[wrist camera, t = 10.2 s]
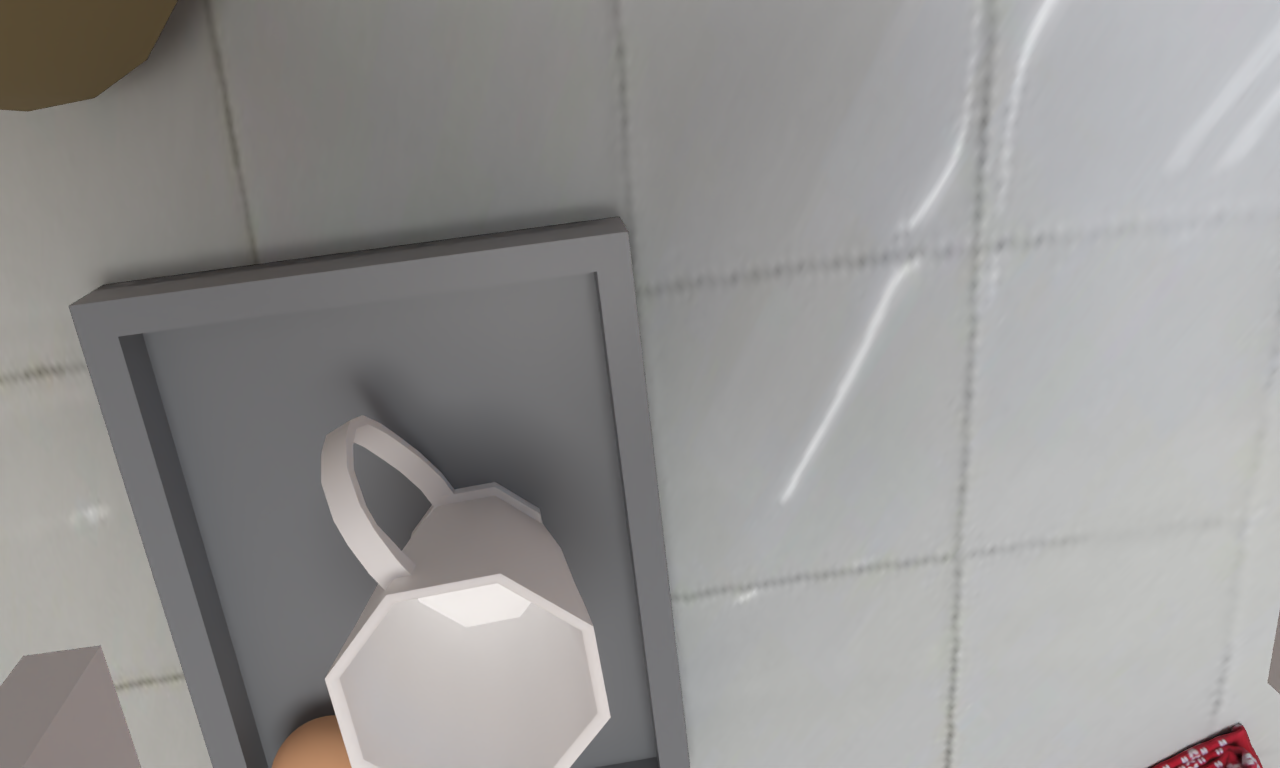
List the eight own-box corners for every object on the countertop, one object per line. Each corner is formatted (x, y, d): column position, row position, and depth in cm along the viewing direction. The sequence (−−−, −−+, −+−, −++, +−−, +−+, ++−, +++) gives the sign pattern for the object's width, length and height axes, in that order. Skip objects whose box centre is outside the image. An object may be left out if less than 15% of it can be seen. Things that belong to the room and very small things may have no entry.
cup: (452, 675, 34) (434, 861, 26) (260, 443, 30) (176, 580, 23) (631, 568, 33) (666, 727, 26) (457, 320, 30) (438, 418, 22)
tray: (103, 285, 29) (68, 306, 27) (619, 216, 30) (628, 231, 28) (266, 831, 36) (250, 885, 33) (683, 759, 37) (694, 806, 35)
